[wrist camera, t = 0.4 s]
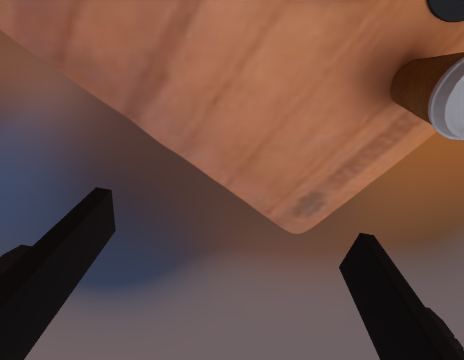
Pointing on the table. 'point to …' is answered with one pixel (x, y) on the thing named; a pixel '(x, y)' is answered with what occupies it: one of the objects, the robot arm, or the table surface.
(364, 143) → the table surface
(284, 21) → the table surface
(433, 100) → the disposable coffee cup
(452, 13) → the coaster
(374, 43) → the table surface
